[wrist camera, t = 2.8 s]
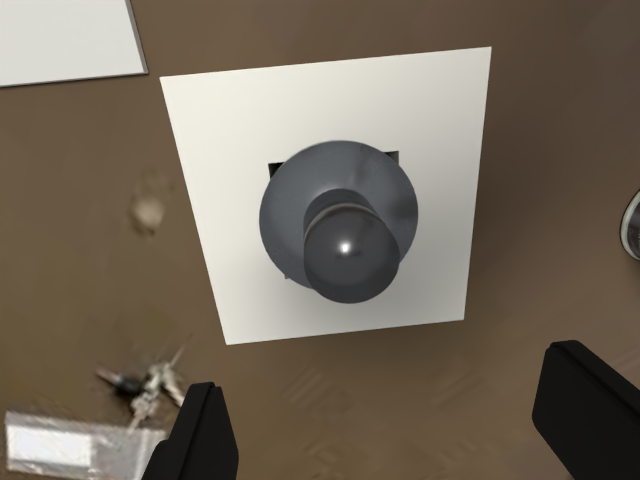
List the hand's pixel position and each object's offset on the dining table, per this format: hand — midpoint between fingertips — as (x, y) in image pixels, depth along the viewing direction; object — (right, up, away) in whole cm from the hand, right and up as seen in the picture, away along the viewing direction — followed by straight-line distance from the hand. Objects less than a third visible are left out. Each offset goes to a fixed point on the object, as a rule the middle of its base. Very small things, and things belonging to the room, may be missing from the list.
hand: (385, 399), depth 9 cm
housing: (-1, +8, +19) cm, 21 cm away
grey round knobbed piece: (-1, +8, +19) cm, 21 cm away
